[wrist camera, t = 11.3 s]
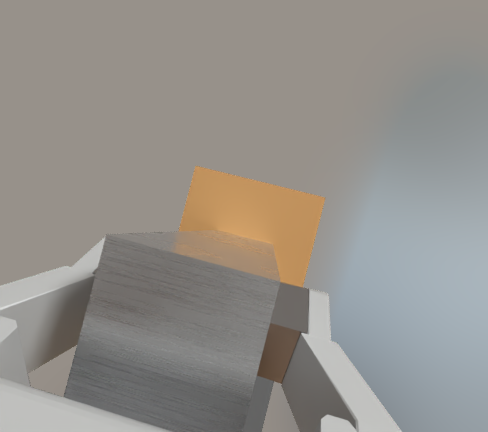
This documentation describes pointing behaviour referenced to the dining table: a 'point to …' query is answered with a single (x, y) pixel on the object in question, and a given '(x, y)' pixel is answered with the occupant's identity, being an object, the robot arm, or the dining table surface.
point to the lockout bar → (193, 305)
